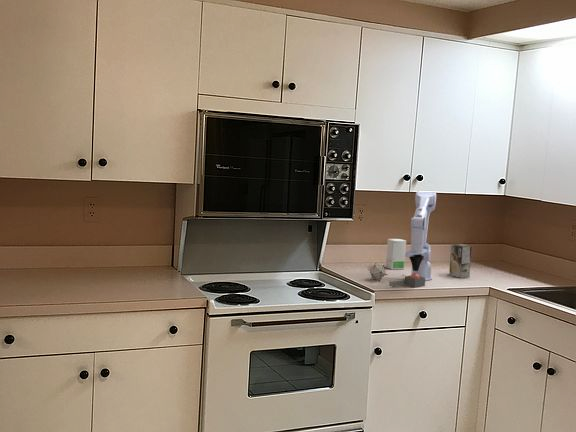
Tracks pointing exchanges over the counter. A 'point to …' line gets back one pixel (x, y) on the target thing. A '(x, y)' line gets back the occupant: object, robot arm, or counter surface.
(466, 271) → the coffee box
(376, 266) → the game die
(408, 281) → the dome housing
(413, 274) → the dome
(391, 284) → the bar
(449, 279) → the counter surface
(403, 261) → the skincare box
